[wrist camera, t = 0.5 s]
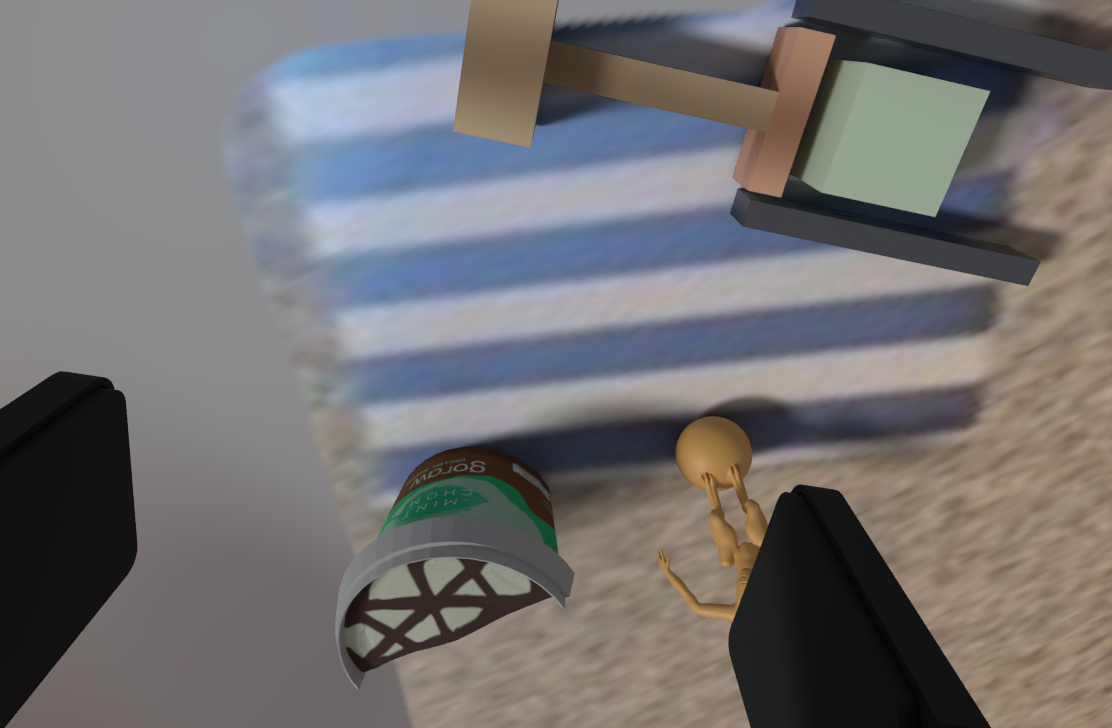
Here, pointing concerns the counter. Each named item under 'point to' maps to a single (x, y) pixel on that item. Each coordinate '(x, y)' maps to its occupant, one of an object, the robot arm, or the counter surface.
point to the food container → (450, 559)
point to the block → (886, 135)
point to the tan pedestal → (634, 85)
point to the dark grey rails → (870, 11)
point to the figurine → (716, 465)
